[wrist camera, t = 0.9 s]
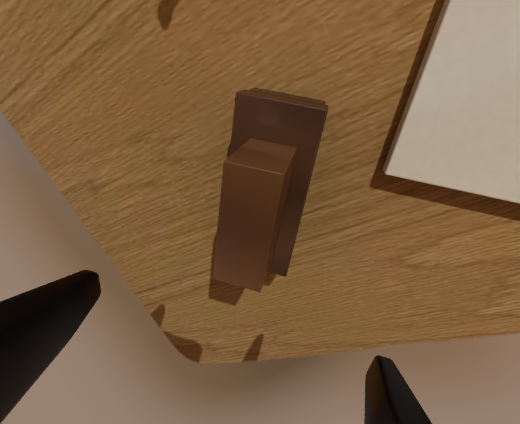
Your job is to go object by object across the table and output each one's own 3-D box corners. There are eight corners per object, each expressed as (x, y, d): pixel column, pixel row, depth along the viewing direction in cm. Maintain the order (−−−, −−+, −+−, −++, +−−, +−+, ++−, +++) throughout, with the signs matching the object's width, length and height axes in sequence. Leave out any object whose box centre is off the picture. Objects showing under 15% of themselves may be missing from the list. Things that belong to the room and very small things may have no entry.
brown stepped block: (292, 250, 21) (273, 328, 15) (233, 234, 21) (191, 303, 15) (329, 101, 16) (324, 125, 10) (251, 87, 17) (202, 101, 11)
